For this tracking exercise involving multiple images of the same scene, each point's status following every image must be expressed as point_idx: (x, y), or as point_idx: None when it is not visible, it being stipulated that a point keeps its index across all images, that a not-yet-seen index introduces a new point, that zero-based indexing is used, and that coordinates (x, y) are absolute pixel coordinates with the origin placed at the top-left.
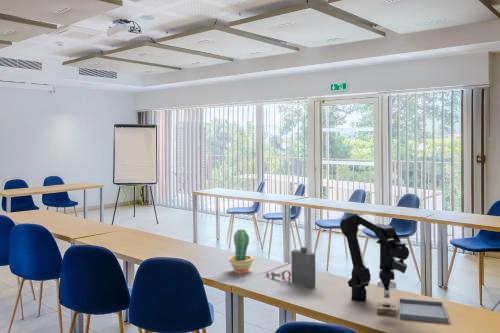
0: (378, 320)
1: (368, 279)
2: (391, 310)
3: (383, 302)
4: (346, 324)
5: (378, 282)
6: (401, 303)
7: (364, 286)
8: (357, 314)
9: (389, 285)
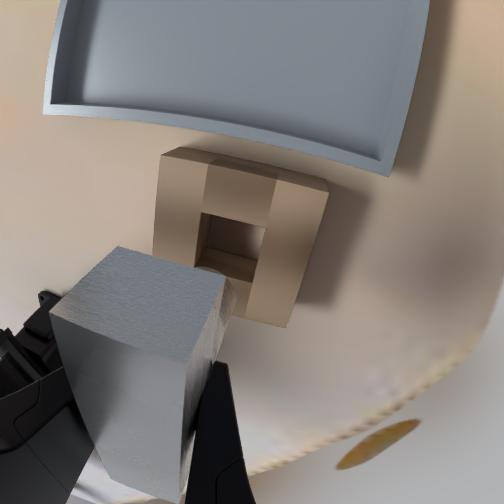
0: (395, 318)
1: (4, 384)
2: (316, 229)
3: (154, 253)
4: (400, 431)
5: (181, 494)
6: (88, 91)
7: (27, 352)
8: (295, 391)
9: (195, 402)
